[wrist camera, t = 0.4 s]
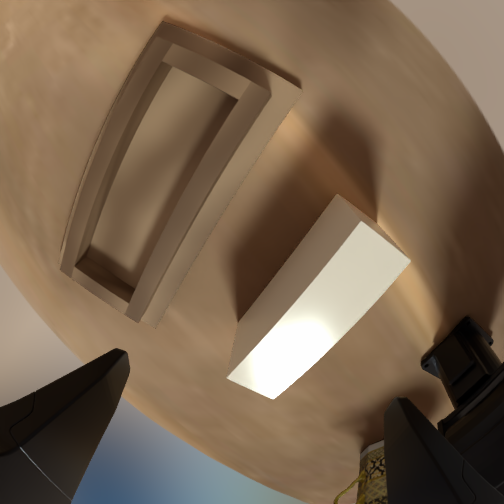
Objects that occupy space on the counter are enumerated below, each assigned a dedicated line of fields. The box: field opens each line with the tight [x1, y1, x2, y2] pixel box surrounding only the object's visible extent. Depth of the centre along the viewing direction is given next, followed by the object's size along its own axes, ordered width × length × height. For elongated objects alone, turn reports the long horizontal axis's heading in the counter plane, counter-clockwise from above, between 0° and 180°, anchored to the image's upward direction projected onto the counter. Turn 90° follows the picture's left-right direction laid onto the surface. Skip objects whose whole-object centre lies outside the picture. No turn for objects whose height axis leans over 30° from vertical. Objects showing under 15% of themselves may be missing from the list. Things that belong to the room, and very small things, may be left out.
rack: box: [58, 21, 303, 329], centre depth 18 cm, size 10×20×3 cm, turn 148°
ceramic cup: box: [334, 440, 388, 504], centre depth 25 cm, size 13×10×10 cm
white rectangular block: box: [226, 193, 411, 399], centre depth 18 cm, size 4×12×6 cm, turn 147°
